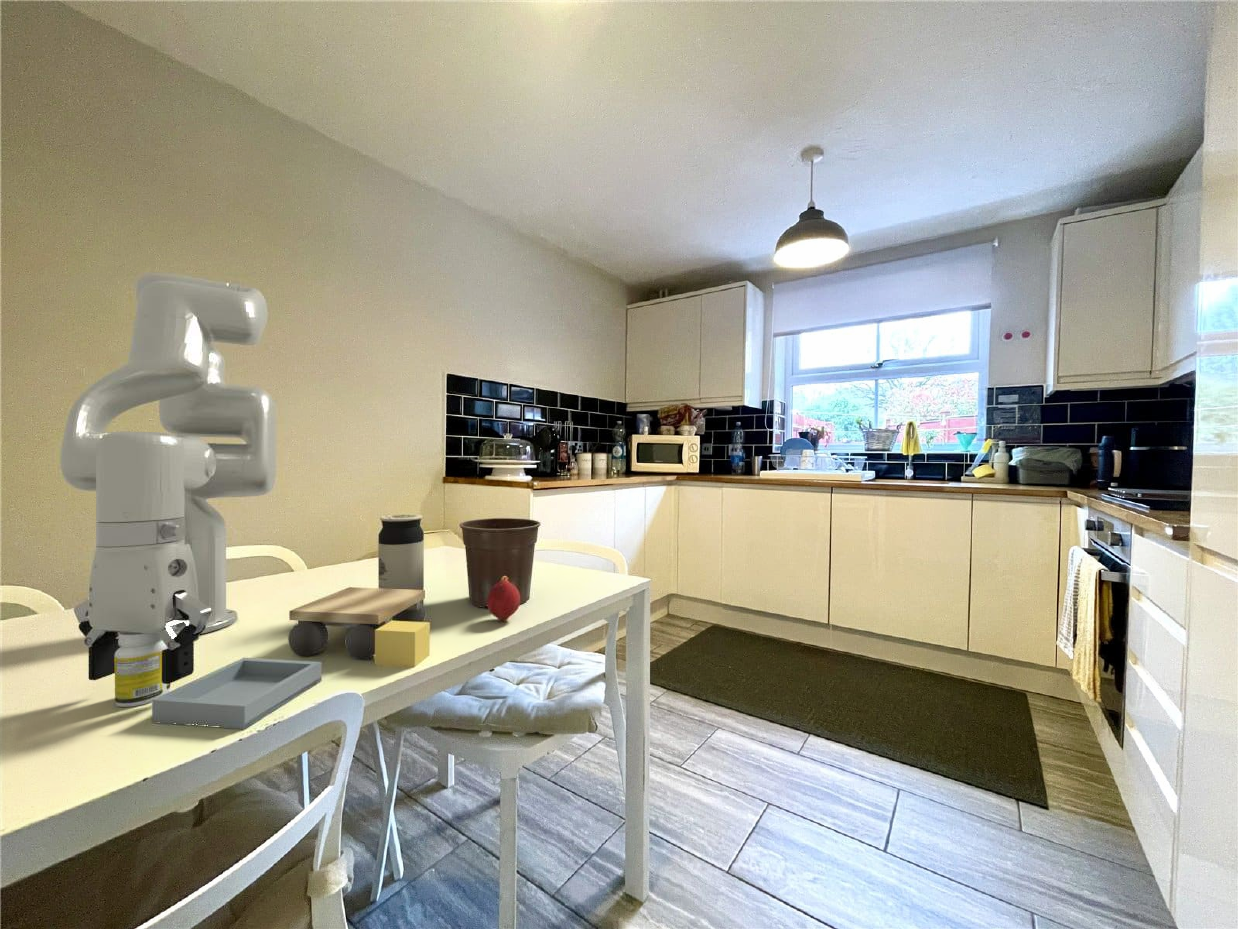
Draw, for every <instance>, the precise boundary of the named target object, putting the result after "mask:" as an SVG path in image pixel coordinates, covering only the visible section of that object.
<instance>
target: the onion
mask: <svg viewBox="0 0 1238 929" xmlns="http://www.w3.org/2000/svg"><path fill="white" fill-rule="evenodd" d="M520 605H521V604H520V593H519V591H518V589H517V588H516V587H515V586H514V585H513V584H512V583H510V582H508V577H507V576H503V577H502V578H501V580H500V582H499V583H497V584H496V585H495V586H494V587H493V588H492V589H491V591H490V592H489V595H488V597H487V606H486V607H487V610H489V612H490V613H491V615H492V616H493V617H494V618H497V619H499V620H500V621H502V622H504V621H507V620H508V619H509V618H510V617H512V616H513V615H514V614H515V613H516V612H517V611H518V609H519V607H520Z"/></svg>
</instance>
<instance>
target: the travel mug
mask: <svg viewBox="0 0 1238 929" xmlns="http://www.w3.org/2000/svg"><path fill="white" fill-rule="evenodd" d="M422 519H423V515H421V514H414V513H413V514H412V513H409V514H405V513H404V514H390V515H382V516H380V518H379V520H380V521H381V530H380V531H379V532H378V541H377V542H378V559H377V560H378V564H377V565H378V569H377V570H378V577H377V578H378V582H377V583H378V584H377V585H378V587H377V588H381V589H408V590H425V586H424V585H425V584H424V583H425V582H424V581H425V580H424V576H425V575H424V574H425V572H424V570H425V569H424V568H425V567H424V566H425V562H424V561H425V560H424V558H425V556H424V555H425V554H424V550H425V544H424V543H425V536H424V535H425V532H424V530H423V528H422V526H421V520H422ZM424 601H425V600H424V599H423V600H421V601H420V602H421V603H422V604H423V606H424V605H425V604H424V603H425V602H424Z"/></svg>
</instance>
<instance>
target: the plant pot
mask: <svg viewBox="0 0 1238 929" xmlns="http://www.w3.org/2000/svg"><path fill="white" fill-rule="evenodd" d="M541 524H542V523H541V521H538V520H535V519H529V518H514V517H513V518H511V517H505V518H504V517H499V518H498V517H496V518H495V517H494V518H493V517H492V518H491V517H490V518H479V519H471V520H466V521H463V522H460V523H459V528H460V529H461V533H462V541H463V542H462V544H463V545H464V546H465V547H464V549H465V550H464V551H465V558H466V559H465V560H466V570H467V575H466V576H467V583H468V584H467V586H468V599H469V600H468V601H469V603H470V604H472V606H475V607H479V608H483V609H484V608H487V607H488V606H487V597H488V595H489V592H490V591H491V589H492V588H493V587H494V586H495V585H496V584H497V583H499V582H500V580H501V578H502V577H503V576H507V577H508V582H510V583H512V584H513V585H514V586H515V587H516V588H517V589H518V591H519V593H520V605H523V604H525V603H527V601H528V600H529V599H530V596H531V584H532V577H533V576H532V575H533V566H534V558H535V557H534V556H535V547H536V543H537V541H538V535H539V534H538V533H539V527H540V526H541Z"/></svg>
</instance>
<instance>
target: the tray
mask: <svg viewBox="0 0 1238 929" xmlns="http://www.w3.org/2000/svg"><path fill="white" fill-rule="evenodd" d="M321 682H322V661H312V660H311V661H310V660H309V661H307V660H293V659H291V660H290V659H274V658H255V657H242V658H240V659H237V660H236V661H234V662H231V663H229V664H227V665H225V666H222V667H220V668H218V669H216V670H214V671H212V672H209V673H208V674H205V675H203V676H201V677H199V678H196V679H195V680H192V681H190V682H187V683H186V684H184V685H181V686H179V687H177V688H175V689H172V690H170V691H169V692H168V693H166V694H164V695H162V696H160V697H157V698H155V699H153V700H152V702H151V706H152V707H151V718H152V719H151V720H152V722H156V723H157V722H160V723H159V724H165V723H172V724H171V725H178V724H191V725H190V726H192V724H194V725H196V724H197V725H206V726H207V725H208V726H219V727H224V728H223V729H234V730H246V729H248V728H249V727H251V726H252V725H254V724H256V723H258V722H259V721H261V720H262V719H264V718H265V717H266V716H269V715H270V714H272V713H273V712H275V711H276V710H278V709H280V708H281V707H282V706H284V705H285V704H288V703H289V702H291V701H293V699H295V698H297V697H298V696H301V695H302V694H304V693H305V692H307V691H308V690H309V689H311V688H313V687H315V686H316V685H318V684H319V683H321ZM152 722H151V723H152ZM174 723H176V724H174ZM157 724H158V723H157Z"/></svg>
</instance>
